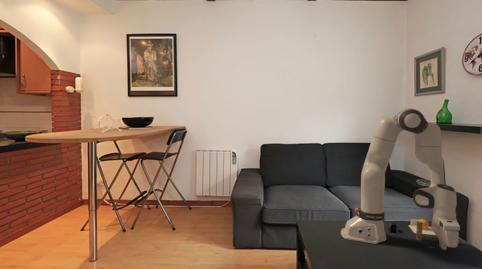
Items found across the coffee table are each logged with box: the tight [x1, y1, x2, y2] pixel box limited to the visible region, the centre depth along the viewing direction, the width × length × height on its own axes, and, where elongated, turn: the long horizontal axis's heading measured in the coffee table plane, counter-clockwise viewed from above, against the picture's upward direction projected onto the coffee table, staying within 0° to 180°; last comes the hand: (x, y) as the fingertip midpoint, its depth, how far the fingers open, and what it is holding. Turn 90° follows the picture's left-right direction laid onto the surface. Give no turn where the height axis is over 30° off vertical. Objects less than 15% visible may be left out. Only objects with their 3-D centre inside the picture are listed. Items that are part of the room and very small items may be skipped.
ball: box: [418, 218, 430, 229], centre depth 166 cm, size 6×6×6 cm
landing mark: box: [407, 224, 437, 236], centre depth 165 cm, size 12×12×1 cm
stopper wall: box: [410, 218, 420, 226], centre depth 172 cm, size 7×2×3 cm, turn 76°
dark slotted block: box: [387, 221, 399, 234], centre depth 165 cm, size 12×7×5 cm, turn 160°
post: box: [415, 222, 423, 241], centre depth 152 cm, size 3×3×9 cm
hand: (442, 248), depth 139 cm, fingers closed
